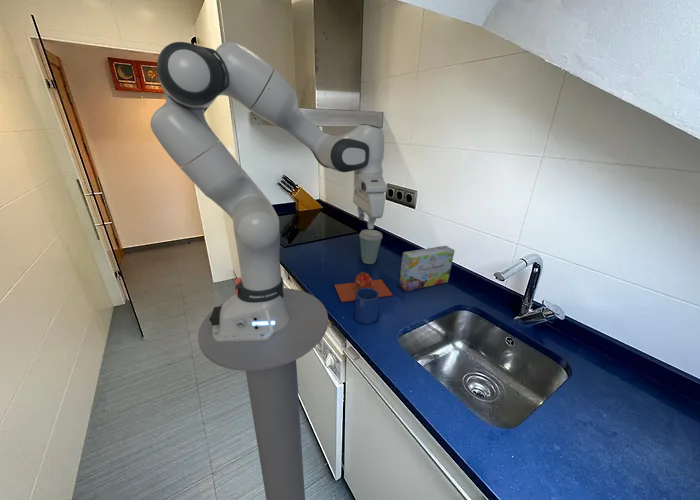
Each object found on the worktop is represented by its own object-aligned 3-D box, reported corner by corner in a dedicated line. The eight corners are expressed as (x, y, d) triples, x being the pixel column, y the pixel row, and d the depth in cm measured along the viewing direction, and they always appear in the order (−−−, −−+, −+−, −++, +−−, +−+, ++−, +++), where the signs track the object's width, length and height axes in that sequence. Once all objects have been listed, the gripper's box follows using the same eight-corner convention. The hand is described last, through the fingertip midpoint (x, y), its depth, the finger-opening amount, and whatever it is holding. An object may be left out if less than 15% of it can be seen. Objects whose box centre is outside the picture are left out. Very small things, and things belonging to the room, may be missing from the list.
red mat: (341, 302, 103) (341, 301, 103) (334, 285, 113) (334, 284, 113) (392, 295, 108) (392, 294, 108) (381, 280, 119) (381, 279, 118)
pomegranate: (356, 299, 108) (378, 287, 105) (345, 284, 107) (367, 271, 104) (359, 291, 115) (379, 279, 112) (348, 277, 114) (369, 264, 111)
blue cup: (358, 325, 91) (359, 301, 88) (352, 311, 98) (353, 289, 94) (380, 321, 93) (382, 298, 90) (372, 308, 100) (374, 286, 96)
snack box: (406, 292, 110) (410, 257, 104) (398, 285, 115) (402, 251, 109) (449, 282, 118) (455, 249, 112) (439, 276, 123) (445, 244, 117)
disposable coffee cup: (363, 254, 141) (365, 226, 135) (384, 259, 137) (386, 230, 131) (354, 263, 133) (355, 232, 126) (375, 268, 128) (377, 237, 122)
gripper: (349, 175, 97) (348, 215, 103) (368, 188, 79) (366, 234, 85) (366, 175, 99) (364, 214, 104) (389, 187, 81) (385, 233, 86)
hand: (365, 223), depth 94 cm, fingers open, 8 cm apart
